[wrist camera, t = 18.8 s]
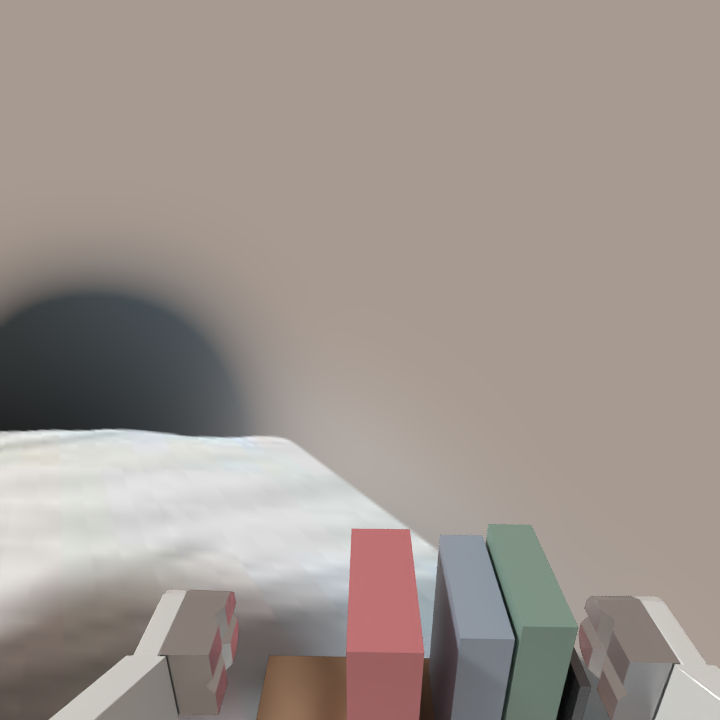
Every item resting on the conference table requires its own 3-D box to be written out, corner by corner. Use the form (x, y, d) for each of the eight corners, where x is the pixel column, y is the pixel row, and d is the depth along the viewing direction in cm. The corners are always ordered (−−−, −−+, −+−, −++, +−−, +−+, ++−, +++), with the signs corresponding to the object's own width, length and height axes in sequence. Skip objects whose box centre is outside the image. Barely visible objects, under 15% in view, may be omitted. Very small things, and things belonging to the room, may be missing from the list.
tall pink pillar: (348, 817, 30) (346, 651, 24) (352, 676, 38) (351, 528, 33) (411, 818, 30) (424, 653, 24) (401, 677, 38) (409, 529, 33)
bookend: (550, 799, 31) (580, 686, 27) (511, 665, 39) (529, 563, 35) (559, 800, 31) (591, 686, 27) (518, 665, 39) (537, 563, 35)
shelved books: (443, 788, 31) (462, 625, 26) (428, 669, 39) (440, 523, 33) (538, 790, 31) (578, 627, 26) (505, 671, 39) (531, 524, 33)
